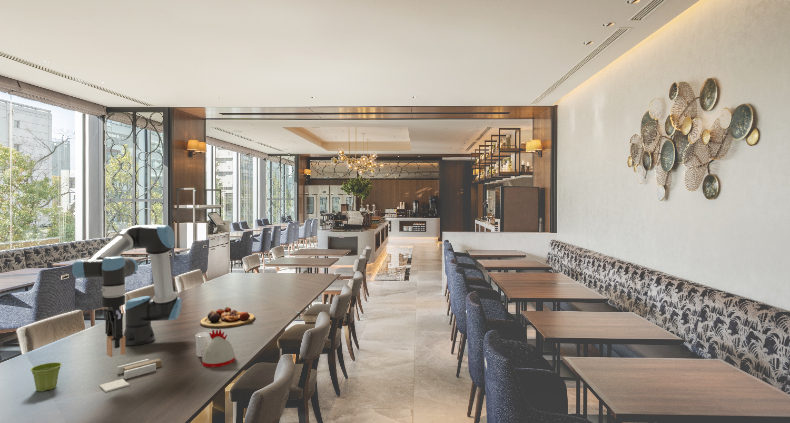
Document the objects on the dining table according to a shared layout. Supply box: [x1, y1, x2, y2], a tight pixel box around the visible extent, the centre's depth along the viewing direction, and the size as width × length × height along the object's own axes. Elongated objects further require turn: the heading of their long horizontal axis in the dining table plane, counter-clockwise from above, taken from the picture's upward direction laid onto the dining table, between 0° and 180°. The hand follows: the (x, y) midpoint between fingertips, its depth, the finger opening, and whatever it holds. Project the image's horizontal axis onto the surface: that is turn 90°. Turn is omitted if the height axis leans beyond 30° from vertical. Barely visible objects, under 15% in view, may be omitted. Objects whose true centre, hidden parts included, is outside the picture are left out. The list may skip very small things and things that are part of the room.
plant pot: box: [30, 361, 63, 392], centre depth 165 cm, size 9×9×9 cm
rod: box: [124, 358, 162, 371], centre depth 184 cm, size 3×14×3 cm, turn 138°
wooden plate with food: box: [199, 306, 256, 329], centre depth 262 cm, size 32×32×8 cm
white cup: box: [195, 331, 212, 358], centre depth 203 cm, size 8×8×10 cm
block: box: [106, 335, 126, 358], centre depth 167 cm, size 5×5×7 cm
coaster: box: [99, 378, 130, 393], centre depth 167 cm, size 8×8×1 cm
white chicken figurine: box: [201, 328, 236, 368], centre depth 194 cm, size 14×14×15 cm
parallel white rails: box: [117, 358, 157, 380], centre depth 181 cm, size 9×12×3 cm
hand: (114, 353), depth 167 cm, fingers closed on block, 5 cm apart
